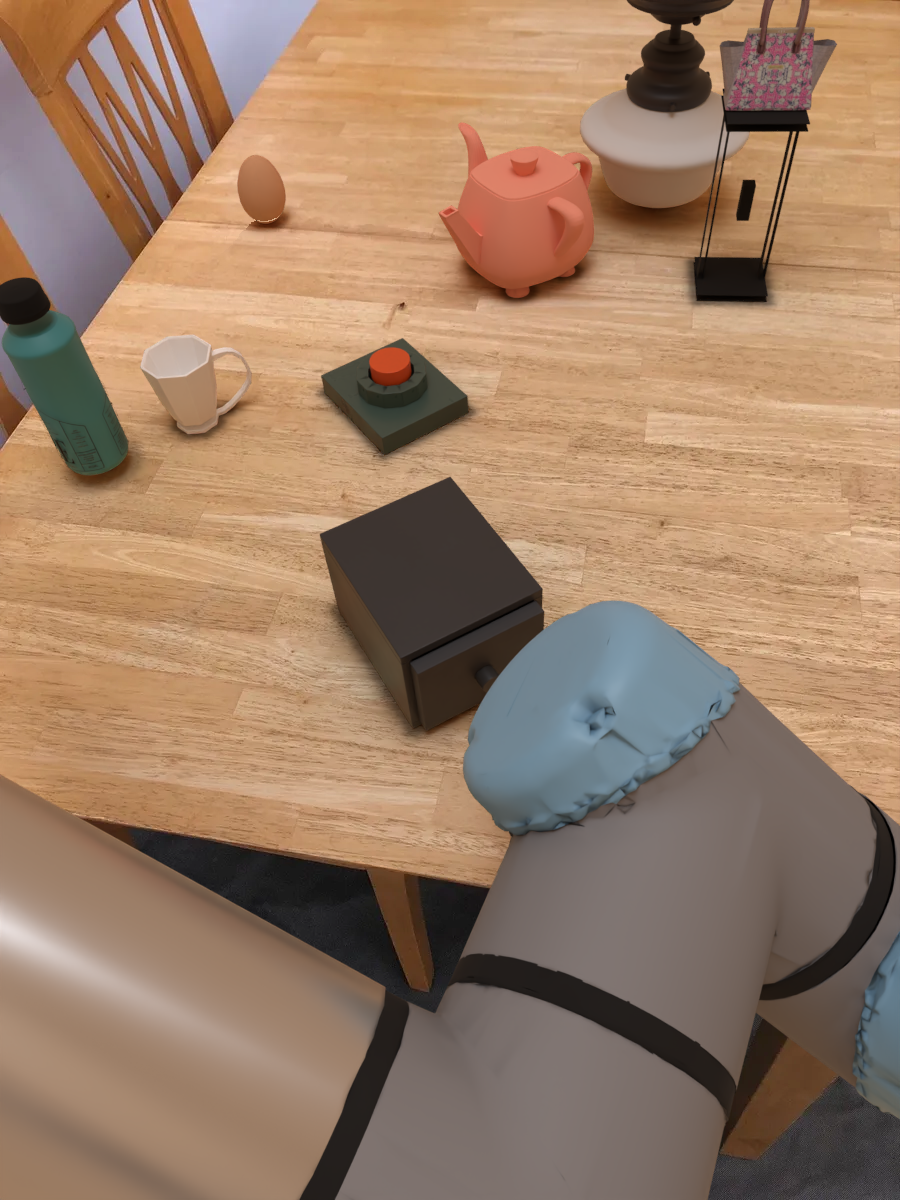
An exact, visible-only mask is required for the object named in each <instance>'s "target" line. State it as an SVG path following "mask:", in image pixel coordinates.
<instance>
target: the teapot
mask: <svg viewBox="0 0 900 1200" xmlns="http://www.w3.org/2000/svg"><path fill="white" fill-rule="evenodd" d="M457 127H458V129H459V132H460V133H461V136H462V137H463V139H464V142H465V145H466V151H467V161H468V163H467V165H468V166H467V179H466V182H465V184H464V187H463V190H462V193H461V195H460V198H459V201H458V205H457V208H456V207H455V206H453V205H448V206H447V207H446V208H443V209H442V210H440V211H439V212H438V216H439V218H440V220H441V221H442V223H443V224H444V227H445V228H446V230H447V231H448V233H449V235H450V237H451V239H452V240H453V242H454V244H455V246H456V249H457V250H458V252H459V254H460V255H461V256H462V258H463V259H464V260H465V262H466V263H467V264H468V266H469V267H471V268H472V269H473V270H474V271H475V272H477V274H479V275H480V276H481V277H483V278H484V279H485V280H487V281H489V282H490V283H492V284H494V285H495V286H497V287H499V288H502V289H505V294H506V295H507V296H508V297H511V298H513V299H519V298H525V297H527V296H528V295H529V293H530V287H531V286H535V285H539V284H542V283H545V282H548V281H551V280H554V279H555V278H558V277H560V278H567V277H570V276H572V275H574V274H575V272H576V268H575V267H576V266H577V265H578V264H579V263H580V262H582V260H583V259H584V258H585V257H586V256H587V254H588V252H589V251H590V249H591V247H592V245H593V243H594V239H595V221H594V214H593V208H592V202H591V198H590V195H589V192H588V190H589V187H590V184H591V181H592V177H593V164H592V162H591V160H590V159H589V158H588V157H587V156H586V155H585V154H582V153H581V152H577V151H576V152H575V151H574V152H573V151H572V152H568V153H566V154H564V155H562V156H561V155H560V154H558V153H556V152H554V151H553V150H551V149H548V148H546V147H544V146H540V145H531V146H525V147H520V148H515V149H512V150H510V151H506V152H503V153H500V154H498V155H495V156H493V157H491V158H488V155H487V152H486V150H485V147H484V144H483V141H482V139H481V137H480V135H479V133H478V132H477V130H476V129H475V128H474V127H473V126H471V125H470V124H468V123H467V122H459V123H458V124H457ZM576 164H579V168H577V166H576Z"/></svg>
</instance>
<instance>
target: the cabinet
mask: <svg viewBox="0 0 900 1200" xmlns="http://www.w3.org/2000/svg"><path fill="white" fill-rule="evenodd" d="M319 538H320V542H321V547H322V550H323V554H324V559H325V562H326V566H327V570H328V574H329V578H330V583H331V587H332V591H333V593H334V598H335V602H336V606H337V609H338V611H339V613H340V614H341V616H342V618H343V619H344V621H345V623H346V624H347V626H348V627H349V629H350V631H351V632H352V634H353V636H354V637H355V638H356V640H357V642H358V643H359V645H360V647H361V648H362V650H363V652H364V653H365V654H366V656H367V658H368V659H369V661H370V663H371V664H372V666H373V668H374V669H375V671H376V672H377V674H378V676H379V677H380V679H381V680H382V682H383V684H384V685H385V687H386V688H387V690H388V692H389V693H390V695H391V697H392V698H393V700H394V701H395V703H396V705H397V706H398V708H399V709H400V711H401V712H402V715H404V717H405V719H406V720H407V722H408V723H409V725H410V727H411V728H412V729H415V728H417V727H419V726H422V724H421V722H420V721H419V716H418V710H417V704H416V698H415V691H414V685H413V679H412V673H411V667H410V662H412V661H411V660H412V659H414V658H416V657H418V656H420V655H422V654H424V653H426V652H428V651H430V650H432V649H434V648H436V647H438V646H440V645H442V644H444V643H446V642H448V641H450V640H452V639H454V638H456V637H458V636H461V635H463V634H465V633H467V632H469V631H471V630H473V629H475V628H477V627H479V626H481V625H483V624H485V623H487V622H489V621H491V620H493V619H495V618H497V617H499V616H501V615H503V614H505V613H507V612H509V611H511V610H513V609H515V608H517V607H518V609H519V608H521V607H523V606H526V605H528V604H530V603H532V602H534V601H537V603H538V604H539V605H540V606H541V607H542V608H543V601H544V600H543V598H544V597H543V594H544V593H543V591H544V590H543V587H542V586H541V584H539V582H538V581H537V580H536V578H535V577H534V576H533V575H532V573H530V571H529V570H528V569H527V567H526V566H525V565H524V564H523V563H522V562H521V560H520V559H519V558H518V557H517V556H516V554H515V553H514V552H513V551H512V549H511V548H510V546H508V545H507V543H506V541H504V540H503V538H502V537H501V536H500V535H499V534H498V533H497V531H496V530H495V529H494V527H493V526H492V525H491V524H490V523H489V521H488V520H487V519H486V518H485V517H484V516H483V514H482V513H481V512H480V510H479V509H478V508H477V507H476V506H475V504H474V503H473V502H472V501H471V499H470V498H469V497H468V496H467V495H466V493H465V492H464V491H463V490H462V489H461V488H460V486H459V485H458V484H457V482H455V480H454V479H453V478H452V477H451V476H449V477H445V478H444V479H441V480H439V481H437V482H434V483H432V484H430V485H427V486H425V487H423V488H421V489H419V490H416V491H414V492H412V493H409V494H408V495H404V496H403V497H400V498H397V499H396V500H393V501H392V502H389V503H387V504H384V505H383V506H382V505H381V506H380V507H377V508H375V509H372V510H371V511H368V512H366V513H363V514H362V515H360V516H357V517H355V518H352V519H351V520H348V521H346V522H343V523H341V524H339V525H337V526H334V527H332V528H329V529H327V530H325V531H323V532H320V533H319Z"/></svg>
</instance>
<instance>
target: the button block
mask: <svg viewBox="0 0 900 1200" xmlns="http://www.w3.org/2000/svg"><path fill="white" fill-rule="evenodd" d="M391 347H393V348H400V349H402V350H404V351H406V352H407V353H408V354H409V356H410V363H411V377H410V378H409V380H408V381H406V382H404V383H402V384H400V385H393V386H383V385H380V384H376V383H375V382H374V381H373V380H372V377H371V370H370V364H369V360H370V358H371V356H372V355H373V354H374V353H375V352H377V351H378V350H381V349H384V348H391ZM320 377H321V382H322V387H323V392H324V393H325V395H326V396H328V397H329V399H330V400H331V401H332V402H333V403H334V404H335V405H336V406H337V407H338V408H339V409H340V410H341V411H342V412H343V413H344V415H345V416H347V418H349V420H350V421H351V422H353V424H354V425H355V426H356V427H357V428H358V429H359V430H360V431H361V432H362V433H363V434H364V435H365V436H366V437H367V438H368V439H369V440H370V441H371V443H373V444H374V445H375V447H377V449H378V450H379V451H380V452H381V453H382V454H383V455H388V454H389V453H391V452H394V451H395V450H398V449H400V448H402V447H403V446H405V445H407V444H409V443H412V442H413V441H415V440H417V439H419V438H421V437H423V436H426V435H427V434H429V433H431V432H434V431H436V430H437V429H439V428H442V427H443V426H445V425H447V424H449V423H451V422H454V421H455V420H457V419H459V418H461V417H463V416H465V415H467V414H468V413H469V397H468V395H467V394H466V393H465V391H463V390H462V389H461V388H460V387H458V386H457V385H456V384H455V383H454V382H453V381H452V380H451V379H449V378H448V377H447V376H446V375H445V374H444V373H443V372H441V370H439V369H438V367H436V366H435V365H434V364H433V363H432V362H431V361H430V360H428V359H427V357H425V356H424V355H423V354H421V352H419V350H417V349H416V348H415V347H413V345H412V344H410V343H409V342H408V341H407V340H406V339H404V338H403V337H401V338H399V339H397V340H395V341H392V342H390V343H388V344H386V345H384V346H382V347H379V348H378V349H376V350H373V351H371V352H369V353H367V354H365V355H362V356H360V357H358V358H356V359H354V360H351V361H349V362H347V363H345V364H343V365H341V366H338V367H336V368H334V369H332V370H330V371H327V372H325V373H323V374H321V375H320Z"/></svg>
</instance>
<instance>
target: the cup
mask: <svg viewBox="0 0 900 1200" xmlns="http://www.w3.org/2000/svg"><path fill="white" fill-rule="evenodd" d="M226 355H232V356H233V357H236V358H237V359H239V360H241V361H242V363H243V365H244V367H245V370H246V375H245V376H246V377H245V380H244V382H243V384H242V385H241V386H240V388H239V389H238V390H237V392H236V393H235V394H234V395H233V396H232V398H230V399H229V401H227V402H226V403H225V404H224V405H223V406H221V407H217V406H218V385H217V378H216V371H215V363H214V362H216V361H217V360H219V359H221V358H222V357H225V356H226ZM139 369H140V370H141V372H142V373H143V375H144V377H145V378H146V380H147V382H148V383H149V385H150V386H151V388H152V390H153V392H154V393H155V395H156V396H157V399H158V400H159V402H160V403H161V405H162V406H163V408H165V410H166V412H168V414H169V415H170V416H171V417H172V419H173V420H175V421H176V427H177V428H178V429H179V430H181V431H182V432H184V434H185V433H186V434H187V435H196V434H206V433H207V432H208V431H209V430H210V431H211V429H213V428H214V427H216V426H217V425H218V422H219V416H223V415H225V414H227V413H228V412H229V411H231V409H233V408H234V407H235V406H236V405H237V404H238V402H240V401H241V399H242V398H243V397H244V396H245V394H246V393H247V392H248V390H249V388H250V386H251V385H252V376H253V375H252V374H253V373H252V371H251V368H250V365H249V364H248V362H247V360H246V359H245V357H244V356H243V354H242V353H241V351H239V350H236V349H235V348H234V347H230V346H229V347H227V346H223V347H220V348H215V349H212V344H210V343H209V342H207V341H206V340H204V339H202V338H201V337H199V336H197V335H196V334H182V335H170V336H169V335H167V336H165V337H163V338H161V339H160V340H159V341H156V343H154V344H152V345H150V346H149V347H147V348H145V349H144V351H143V354H142V357H141V362H140V367H139Z"/></svg>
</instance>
